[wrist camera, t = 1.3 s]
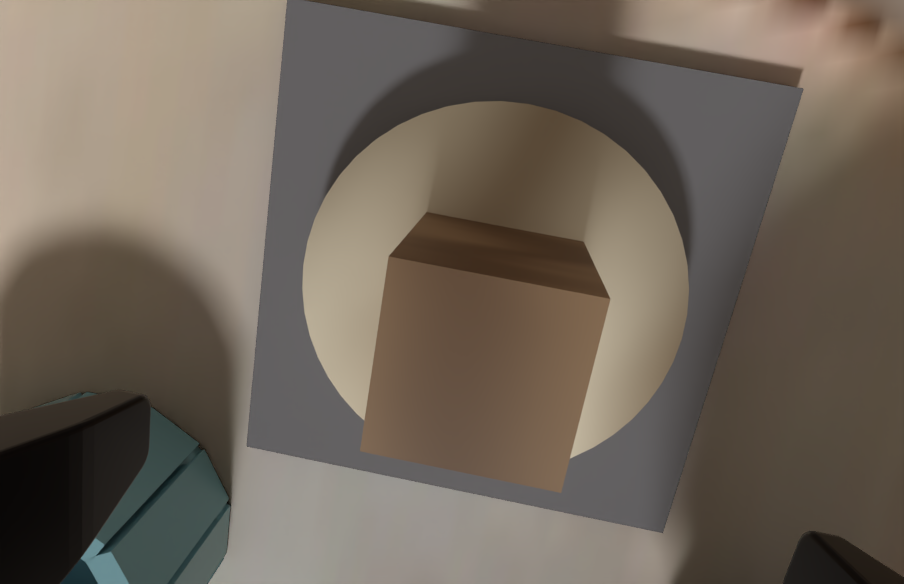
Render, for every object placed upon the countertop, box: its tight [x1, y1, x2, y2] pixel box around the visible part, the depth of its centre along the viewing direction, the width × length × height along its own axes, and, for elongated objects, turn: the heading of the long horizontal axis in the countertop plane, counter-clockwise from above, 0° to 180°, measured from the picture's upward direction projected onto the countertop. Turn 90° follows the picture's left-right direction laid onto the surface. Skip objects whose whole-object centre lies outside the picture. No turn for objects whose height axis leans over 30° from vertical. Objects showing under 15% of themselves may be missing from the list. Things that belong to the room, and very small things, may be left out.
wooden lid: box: [302, 101, 689, 493], centre depth 15 cm, size 10×10×6 cm
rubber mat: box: [247, 0, 803, 533], centre depth 18 cm, size 13×13×1 cm
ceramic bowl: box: [31, 392, 230, 584], centre depth 19 cm, size 8×8×5 cm
